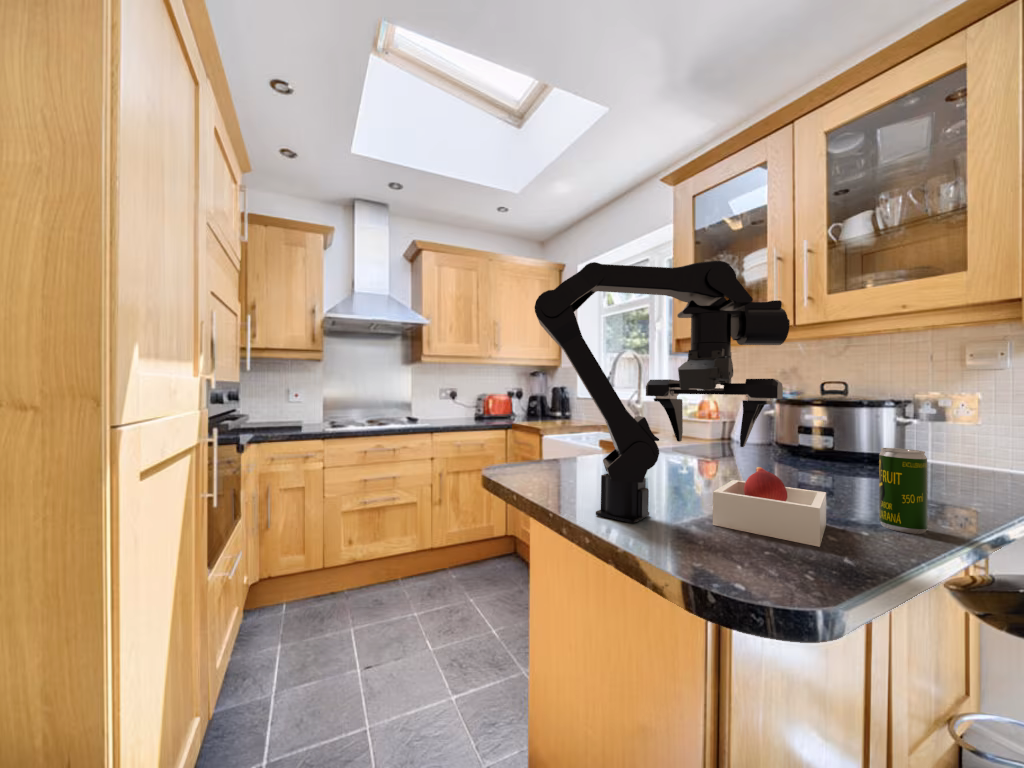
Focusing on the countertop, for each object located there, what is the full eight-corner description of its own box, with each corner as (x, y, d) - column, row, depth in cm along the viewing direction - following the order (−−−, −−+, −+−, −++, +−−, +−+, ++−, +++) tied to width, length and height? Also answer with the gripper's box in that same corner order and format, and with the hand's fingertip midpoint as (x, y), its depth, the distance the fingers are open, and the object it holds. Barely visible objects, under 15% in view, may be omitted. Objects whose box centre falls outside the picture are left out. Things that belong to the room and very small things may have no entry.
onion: (784, 523, 65) (775, 477, 69) (796, 508, 60) (786, 460, 65) (743, 518, 66) (737, 473, 71) (752, 504, 62) (745, 457, 67)
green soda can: (901, 523, 66) (901, 448, 66) (938, 534, 60) (937, 452, 61) (869, 523, 65) (869, 447, 66) (904, 534, 60) (903, 451, 60)
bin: (712, 524, 62) (713, 491, 62) (732, 508, 72) (733, 479, 72) (819, 546, 54) (819, 508, 54) (826, 524, 64) (826, 492, 64)
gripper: (632, 342, 65) (630, 442, 64) (771, 333, 53) (770, 455, 52) (658, 350, 73) (657, 437, 73) (783, 343, 61) (783, 448, 61)
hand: (709, 444), depth 64 cm, fingers open, 9 cm apart
